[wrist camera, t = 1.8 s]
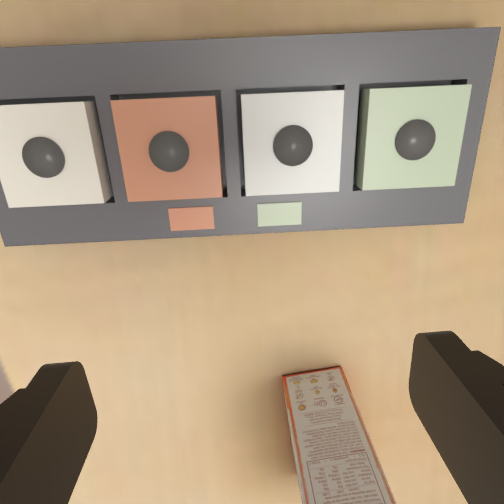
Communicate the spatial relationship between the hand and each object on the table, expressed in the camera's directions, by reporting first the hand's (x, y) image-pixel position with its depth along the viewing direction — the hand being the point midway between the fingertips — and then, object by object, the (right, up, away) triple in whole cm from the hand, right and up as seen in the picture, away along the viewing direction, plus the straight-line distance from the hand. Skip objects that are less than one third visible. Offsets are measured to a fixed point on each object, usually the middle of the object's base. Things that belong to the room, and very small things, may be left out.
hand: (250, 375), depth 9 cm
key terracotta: (-5, +10, +15) cm, 19 cm away
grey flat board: (-1, +11, +17) cm, 20 cm away
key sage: (+10, +11, +16) cm, 21 cm away
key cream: (-13, +9, +15) cm, 22 cm away
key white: (+2, +10, +15) cm, 19 cm away
